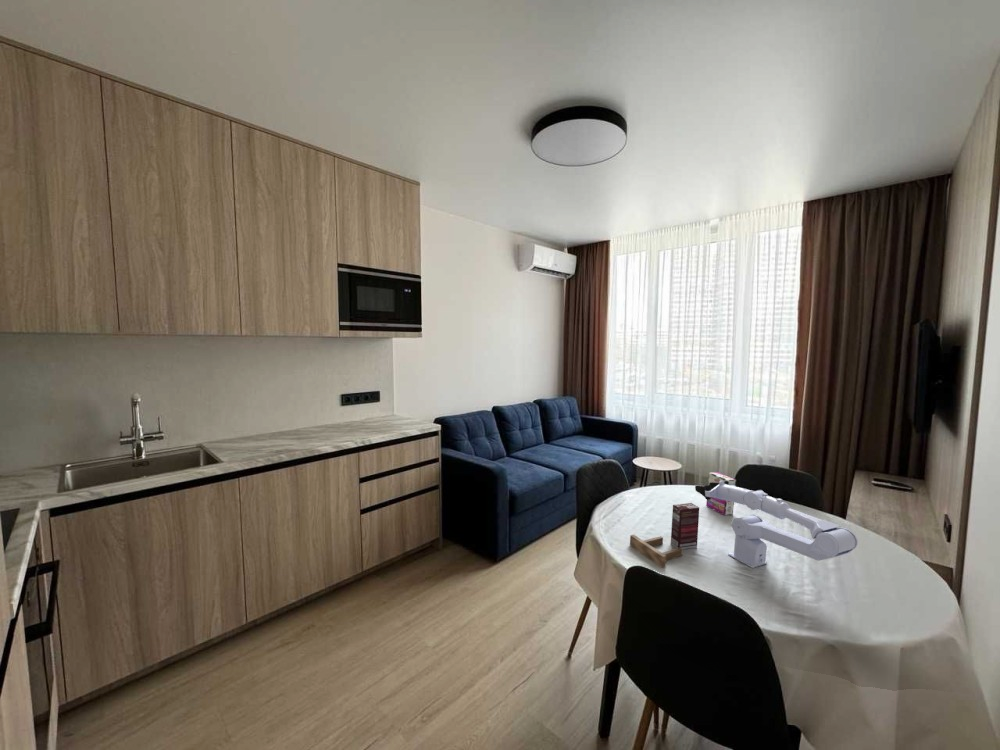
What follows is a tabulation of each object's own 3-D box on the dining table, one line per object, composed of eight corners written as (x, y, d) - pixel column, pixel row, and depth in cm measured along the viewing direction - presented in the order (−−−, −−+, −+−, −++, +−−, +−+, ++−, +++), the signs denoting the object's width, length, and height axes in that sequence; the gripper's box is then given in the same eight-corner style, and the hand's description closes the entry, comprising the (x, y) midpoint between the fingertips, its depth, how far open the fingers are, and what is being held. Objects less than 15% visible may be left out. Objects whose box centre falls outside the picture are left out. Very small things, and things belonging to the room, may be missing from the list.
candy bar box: (733, 514, 185) (736, 479, 183) (724, 516, 183) (728, 480, 182) (714, 504, 196) (716, 471, 194) (705, 505, 194) (708, 472, 192)
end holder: (688, 559, 147) (689, 549, 147) (662, 567, 142) (662, 556, 141) (654, 538, 161) (655, 529, 161) (629, 545, 156) (630, 535, 156)
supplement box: (688, 541, 160) (691, 502, 159) (697, 547, 156) (700, 507, 154) (669, 543, 158) (672, 504, 156) (677, 550, 154) (680, 509, 152)
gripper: (746, 480, 156) (715, 474, 168) (718, 486, 150) (688, 479, 163) (747, 498, 155) (716, 491, 168) (720, 505, 150) (690, 497, 163)
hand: (703, 486), depth 165 cm, fingers open, 7 cm apart
